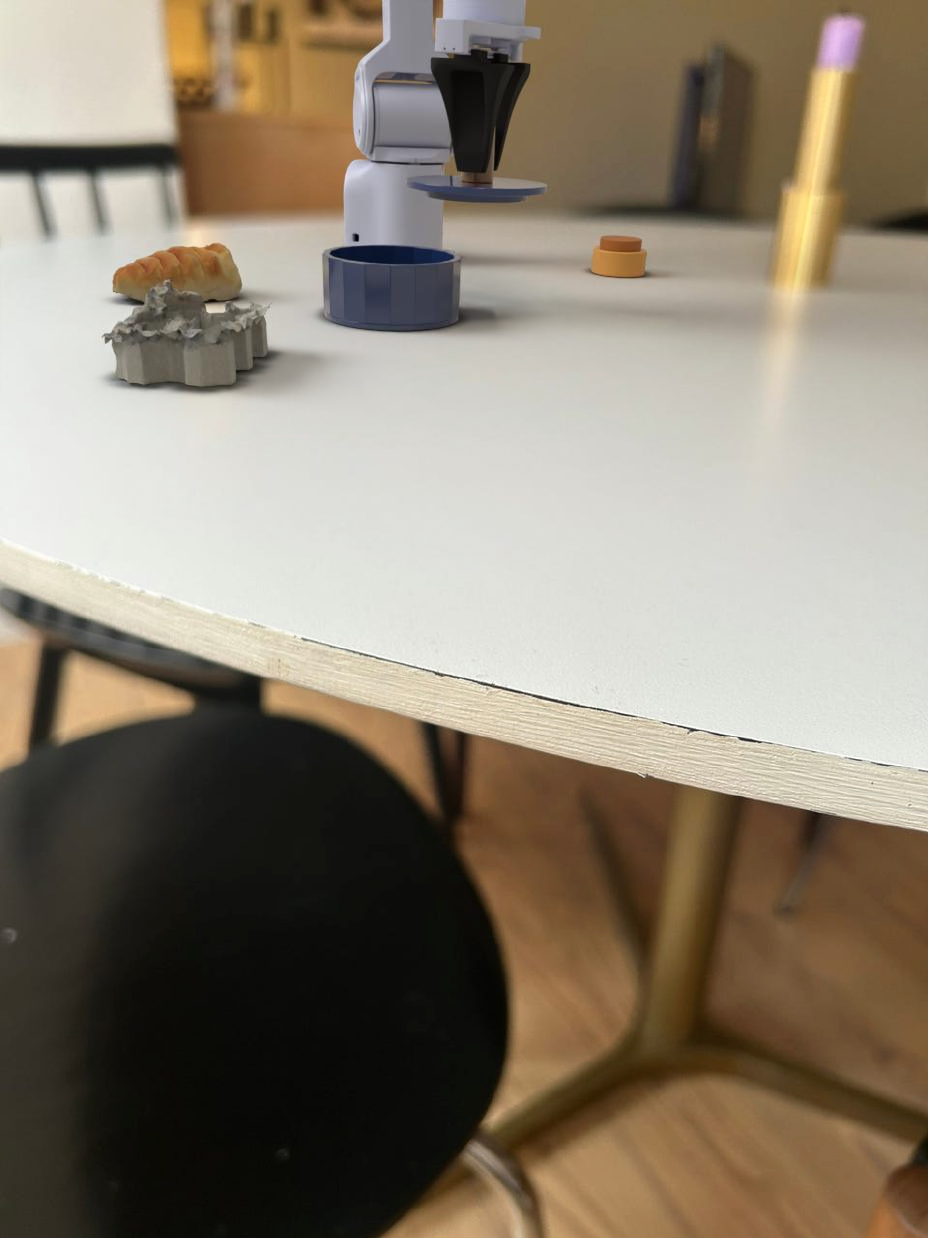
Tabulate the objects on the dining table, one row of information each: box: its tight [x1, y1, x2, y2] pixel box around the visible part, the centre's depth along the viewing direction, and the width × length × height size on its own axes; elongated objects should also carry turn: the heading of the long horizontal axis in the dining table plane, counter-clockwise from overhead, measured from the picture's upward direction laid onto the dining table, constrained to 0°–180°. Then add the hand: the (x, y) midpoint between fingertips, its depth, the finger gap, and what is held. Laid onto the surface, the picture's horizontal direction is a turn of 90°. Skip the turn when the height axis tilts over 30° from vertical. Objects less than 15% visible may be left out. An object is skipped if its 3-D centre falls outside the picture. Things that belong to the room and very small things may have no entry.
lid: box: [406, 124, 549, 204], centre depth 71 cm, size 11×11×5 cm
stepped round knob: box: [590, 234, 648, 278], centre depth 94 cm, size 5×5×3 cm
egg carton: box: [101, 279, 271, 387], centre depth 56 cm, size 11×8×4 cm
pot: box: [321, 244, 462, 332], centre depth 71 cm, size 10×10×4 cm
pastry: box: [111, 242, 243, 304], centre depth 74 cm, size 9×7×4 cm
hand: (477, 170), depth 71 cm, fingers closed on lid, 2 cm apart
